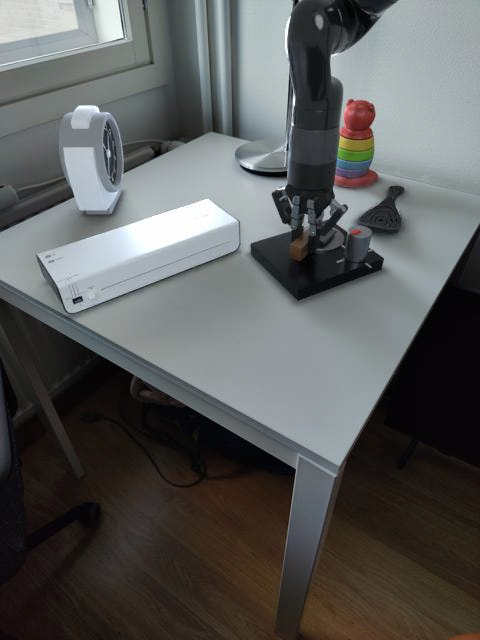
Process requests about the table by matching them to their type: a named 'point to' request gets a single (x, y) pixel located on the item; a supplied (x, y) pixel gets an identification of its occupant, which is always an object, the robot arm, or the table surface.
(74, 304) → the laminator
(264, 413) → the table surface
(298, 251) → the spatula
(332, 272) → the hob
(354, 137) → the stacking bear
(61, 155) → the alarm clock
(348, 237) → the hob knob
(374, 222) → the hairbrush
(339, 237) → the burner
